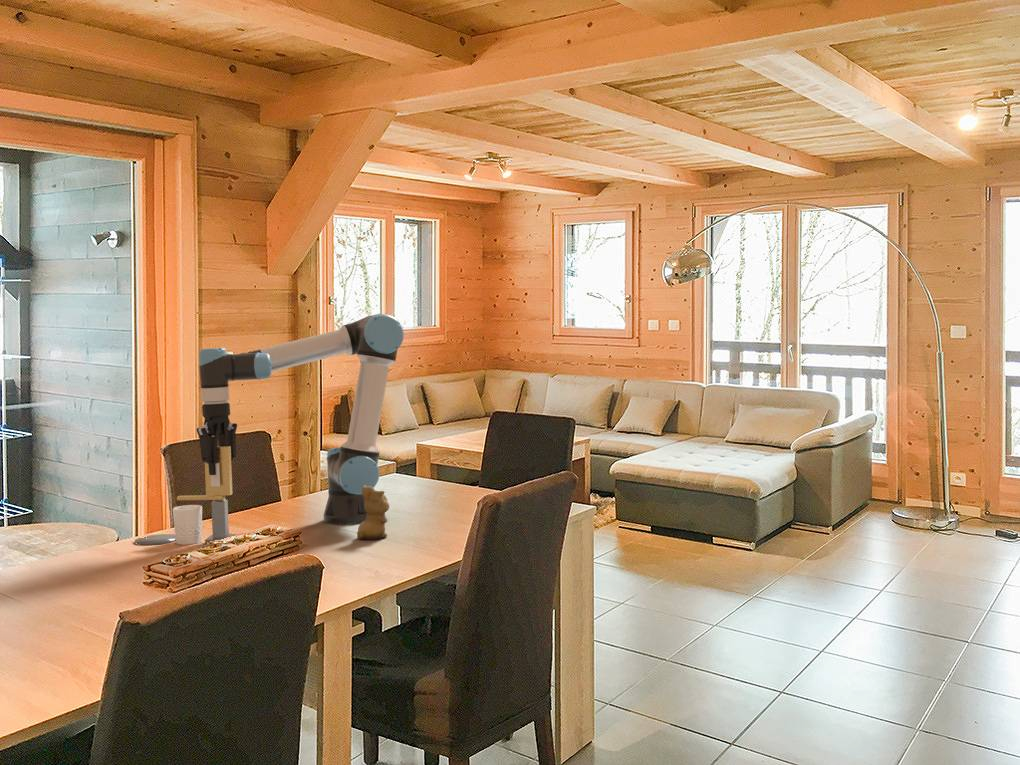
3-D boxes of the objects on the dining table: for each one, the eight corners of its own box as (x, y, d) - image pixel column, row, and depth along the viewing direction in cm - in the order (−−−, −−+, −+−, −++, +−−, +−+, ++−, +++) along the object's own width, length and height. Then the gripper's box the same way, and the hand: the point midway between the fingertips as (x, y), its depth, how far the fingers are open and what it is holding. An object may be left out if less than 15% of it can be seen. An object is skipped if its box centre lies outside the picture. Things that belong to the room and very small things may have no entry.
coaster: (184, 535, 270) (184, 533, 270) (172, 544, 258) (172, 542, 258) (143, 536, 269) (143, 534, 269) (128, 545, 257) (128, 543, 257)
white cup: (194, 545, 255) (192, 510, 255) (168, 545, 257) (166, 509, 257) (208, 539, 263) (207, 505, 263) (183, 539, 265) (182, 504, 264)
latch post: (236, 538, 264) (235, 498, 264) (230, 543, 257) (229, 502, 257) (211, 538, 264) (210, 499, 263) (205, 544, 257) (203, 503, 256)
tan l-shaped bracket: (233, 499, 261) (231, 445, 261) (229, 501, 258) (227, 447, 258) (180, 499, 263) (178, 446, 262) (175, 501, 259) (173, 447, 259)
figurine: (397, 535, 262) (396, 483, 261) (384, 542, 254) (382, 488, 253) (367, 534, 265) (365, 482, 265) (352, 540, 257) (350, 487, 257)
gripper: (226, 400, 268) (231, 480, 269) (183, 405, 253) (189, 489, 255) (246, 400, 264) (251, 481, 265) (203, 404, 250) (208, 490, 251)
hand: (220, 485), depth 260 cm, fingers closed on tan l-shaped bracket, 3 cm apart
